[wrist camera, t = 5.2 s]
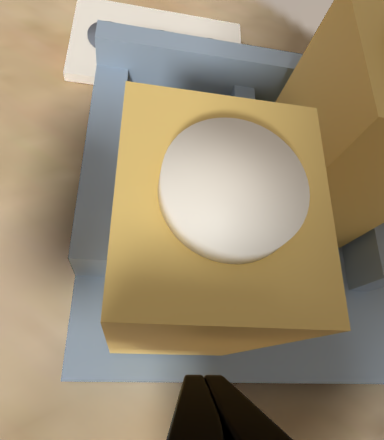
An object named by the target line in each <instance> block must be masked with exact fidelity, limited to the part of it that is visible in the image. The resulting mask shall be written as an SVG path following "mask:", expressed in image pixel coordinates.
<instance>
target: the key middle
mask: <svg viewBox="0 0 384 440" xmlns="http://www.w3.org/2000/svg"><path fill="white" fill-rule="evenodd" d="M276 102H277V103H284V104H291V105H298V106H305V107H312V108H317V113H318V119H319V126H320V133H321V139H322V146H323V152H324V159H325V165H326V172H327V178H328V185H329V191H330V198H331V204H332V211H333V217H334V224H335V231H336V237H337V244H338V247H339V248H341V247H342V246H344V245H346V244H348V243H349V242H351V241H353V240H355V239H356V238H358V237H360V236H362V235H363V234H365V233H367V232H368V231H370V230H372V229H374V228H375V227H377V226H379V225H381V224H382V223H384V0H334V1H333V3H332V5H331V7H330V8H329V10H328V12H327V13H326V15H325V17H324V19H323V20H322V22H321V24H320V26H319V27H318V29H317V31H316V32H315V34H314V36H313V38H312V39H311V41H310V43H309V45H308V46H307V48H306V50H305V51H304V53H303V55H302V57H301V58H300V60H299V62H298V64H297V65H296V67H295V69H294V71H293V72H292V74H291V76H290V77H289V79H288V81H287V83H286V84H285V86H284V88H283V90H282V91H281V93H280V95H279V96H278V98H277V100H276Z"/></svg>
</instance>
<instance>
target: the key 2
mask: <svg viewBox="0 0 384 440" xmlns="http://www.w3.org/2000/svg"><path fill="white" fill-rule="evenodd" d="M100 323H101V326H102V329H103V332H104V336H105V339H106V342H107V345H108V349H109V352H110V353H120V354H167V355H215V356H223V355H228V354H233V353H238V352H243V351H249V350H254V349H259V348H264V347H269V346H275V345H280V344H285V343H290V342H295V341H301V340H306V339H311V338H316V337H321V336H327V335H332V334H337V333H342V332H347V331H351V329H350V322H349V316H348V309H347V302H346V296H345V289H344V283H343V276H342V270H341V263H340V257H339V250H338V244H337V237H336V231H335V224H334V217H333V211H332V204H331V198H330V191H329V185H328V178H327V172H326V165H325V159H324V152H323V146H322V139H321V133H320V126H319V119H318V113H317V108H312V107H305V106H298V105H291V104H284V103H277V102H270V101H263V100H256V99H249V98H242V97H235V96H228V95H221V94H214V93H207V92H200V91H193V90H186V89H179V88H172V87H165V86H158V85H151V84H144V83H137V82H130V81H126V82H125V92H124V101H123V111H122V120H121V130H120V140H119V149H118V159H117V168H116V178H115V187H114V197H113V206H112V216H111V226H110V235H109V245H108V254H107V264H106V273H105V283H104V292H103V302H102V312H101V321H100Z"/></svg>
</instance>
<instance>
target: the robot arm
mask: <svg viewBox="0 0 384 440" xmlns="http://www.w3.org/2000/svg"><path fill="white" fill-rule="evenodd" d="M166 440H292V439H291V438H290V437H289V436H288V435H287V434H286V433H285V432H284V431H283V430H281V429H280V428H279V427H278V426H277V425H276V424H275V423H274V422H273V421H272V420H271V419H269V418H268V417H267V416H266V415H265V414H264V413H263V412H262V411H261V410H260V409H259V408H257V407H256V406H255V405H254V404H253V403H252V402H251V401H250V400H249V399H248V398H247V397H245V396H244V395H243V394H242V393H241V392H240V391H239V390H238V389H237V388H236V387H234V386H233V385H232V384H231V383H230V382H229V381H228V380H227V379H226V378H225V377H223V376H222V375H205V376H204V377H203V376H202V375H185V376H184V379H183V383H182V386H181V390H180V393H179V397H178V400H177V404H176V407H175V411H174V415H173V418H172V422H171V425H170V429H169V432H168V436H167V439H166Z"/></svg>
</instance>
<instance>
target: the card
mask: <svg viewBox="0 0 384 440" xmlns="http://www.w3.org/2000/svg"><path fill="white" fill-rule="evenodd" d="M97 20H102V21H108V22H114V23H120V24H126V25H132V26H138V27H144V28H150V29H156V30H162V31H168V32H174V33H180V34H186V35H192V36H198V37H204V38H210V39H216V40H222V41H228V42H234V43H239V44H241V34H240V24H237V23H231V22H226V21H220V20H214V19H209V18H203V17H197V16H192V15H186V14H180V13H175V12H169V11H163V10H158V9H152V8H146V7H141V6H135V5H129V4H124V3H118V2H112V1H107V0H77V4H76V9H75V15H74V20H73V25H72V30H71V35H70V41H69V46H68V51H67V56H66V61H65V67H64V72H63V73H64V79H65V81H71V82H78V83H85V84H92V85H94V79H95V72H96V66H97V63H96V48H95V32H96V26H97Z"/></svg>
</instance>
